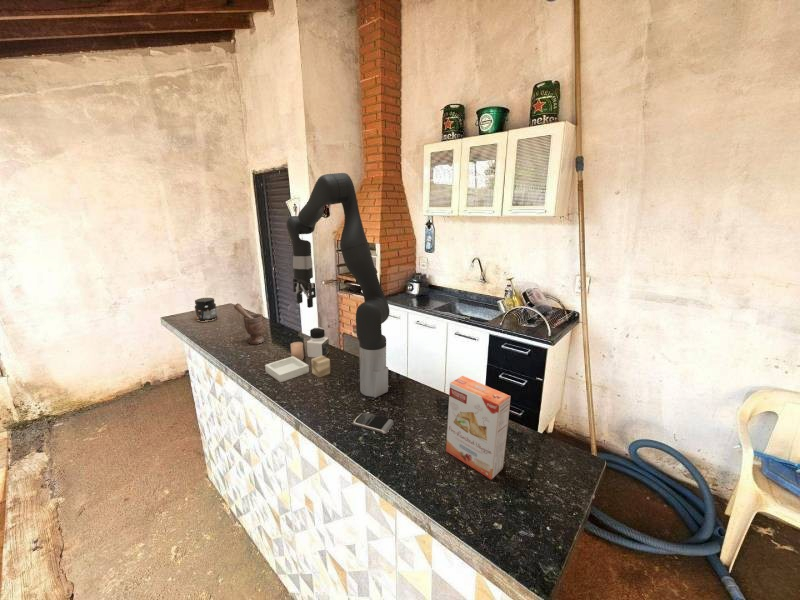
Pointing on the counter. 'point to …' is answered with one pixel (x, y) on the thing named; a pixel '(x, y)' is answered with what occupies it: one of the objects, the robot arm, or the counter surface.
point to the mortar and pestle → (252, 325)
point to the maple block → (320, 366)
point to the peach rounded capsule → (297, 350)
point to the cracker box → (477, 425)
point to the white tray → (287, 369)
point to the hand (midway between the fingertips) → (305, 305)
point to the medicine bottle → (317, 343)
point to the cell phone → (373, 422)
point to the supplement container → (205, 309)
